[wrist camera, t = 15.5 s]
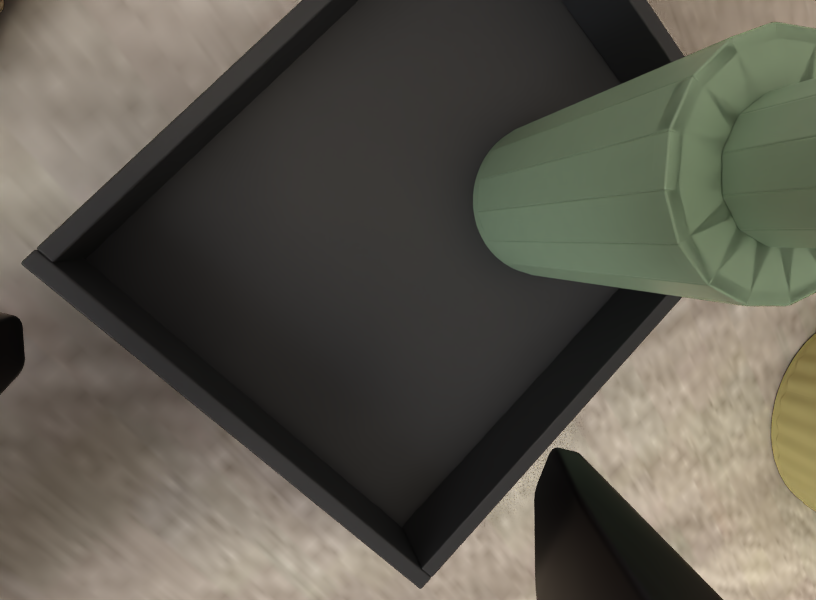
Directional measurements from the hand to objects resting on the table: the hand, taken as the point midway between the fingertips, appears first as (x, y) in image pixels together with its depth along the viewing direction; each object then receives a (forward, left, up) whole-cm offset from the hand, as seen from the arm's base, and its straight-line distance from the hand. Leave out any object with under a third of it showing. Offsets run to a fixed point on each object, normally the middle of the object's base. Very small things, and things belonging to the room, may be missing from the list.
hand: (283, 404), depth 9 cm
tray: (+7, -2, -12) cm, 14 cm away
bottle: (+11, -5, -12) cm, 17 cm away
